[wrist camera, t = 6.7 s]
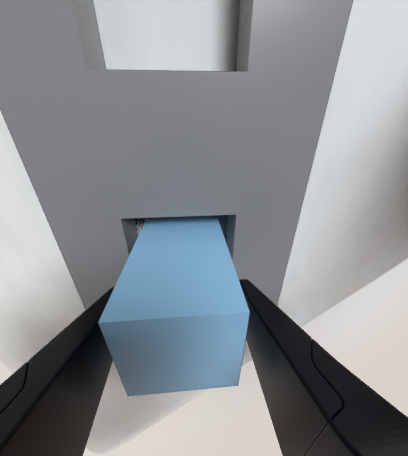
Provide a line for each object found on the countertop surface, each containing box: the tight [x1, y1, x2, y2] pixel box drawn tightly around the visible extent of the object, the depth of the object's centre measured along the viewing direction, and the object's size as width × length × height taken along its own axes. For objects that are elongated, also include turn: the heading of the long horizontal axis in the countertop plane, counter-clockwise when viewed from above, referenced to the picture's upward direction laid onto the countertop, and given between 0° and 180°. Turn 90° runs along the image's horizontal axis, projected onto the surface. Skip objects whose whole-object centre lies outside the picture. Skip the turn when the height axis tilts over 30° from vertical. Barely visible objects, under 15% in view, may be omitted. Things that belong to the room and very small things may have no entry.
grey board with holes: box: [0, 0, 353, 310], centre depth 9 cm, size 12×22×2 cm, turn 0°
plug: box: [98, 215, 250, 396], centre depth 9 cm, size 4×5×7 cm
